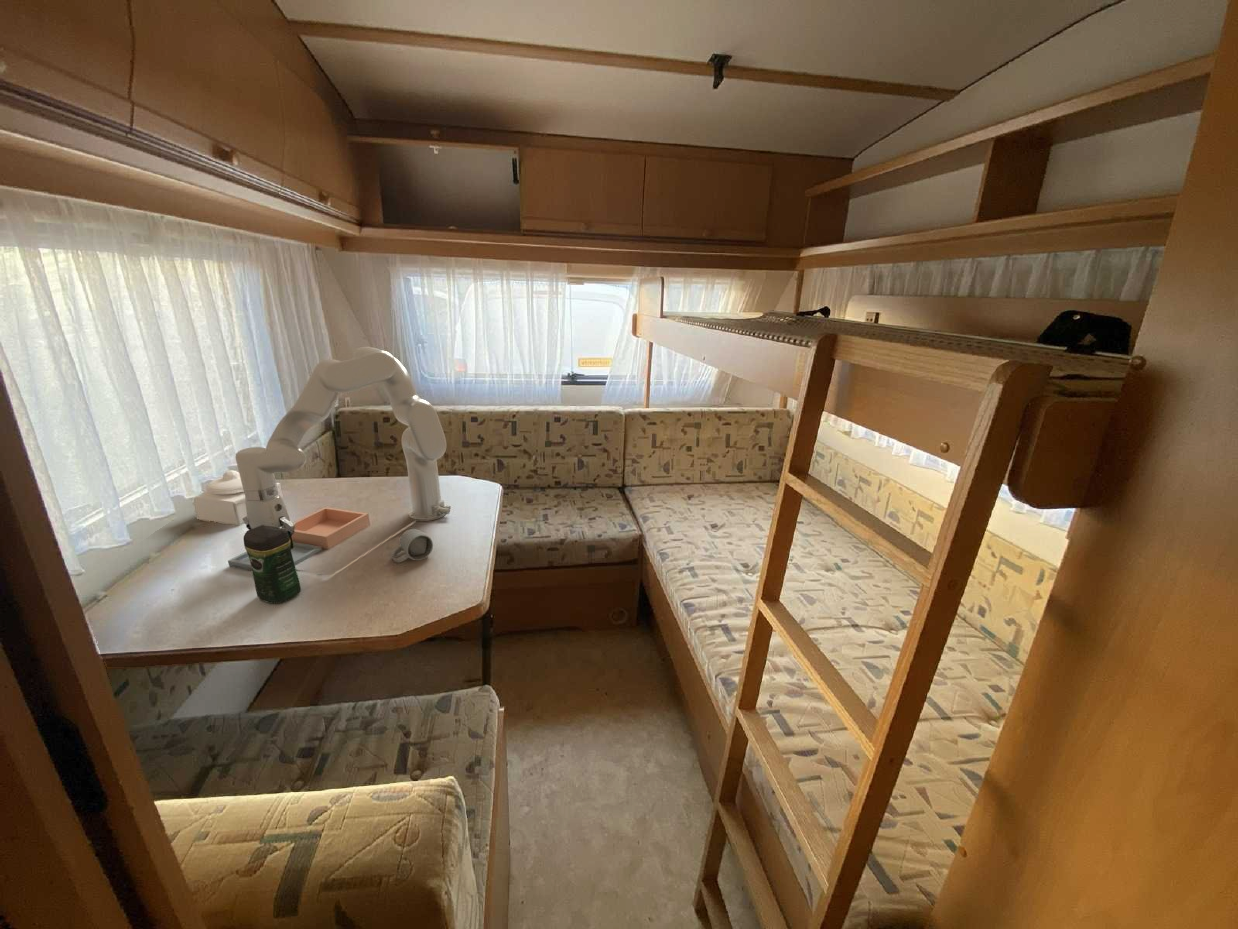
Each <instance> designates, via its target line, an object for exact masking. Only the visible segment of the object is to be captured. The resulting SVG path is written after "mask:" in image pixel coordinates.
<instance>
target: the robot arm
mask: <svg viewBox="0 0 1238 929" xmlns="http://www.w3.org/2000/svg"><path fill="white" fill-rule="evenodd" d="M379 383H380V384H381V385H382V387H383V390H384V391H385V393H386V396H387V398H388V401H389V404H390V408H391V410H392V412H393V415H394V417H395V419H396V420H397V421H398V422H400V423H401V424H403V425H405V426H407V428H406V429H405V430H404V431H403V432H402V435H401V440H400V441H401V447H402V448H401V449H402V451H403V454H404V458H405V461H406V462H405V463H406V467H407V477H408V484H409V492H410V500H411V507H412V508H411V509H410V510H409V511H408V517H410V518H411V519H414V520H413V521H414V522H429V521H434V520H438V519H441V518H442V517H444V516H445V515H449V514H450V512H451V508H452V506H450V505H445V500H442V498H441V497H442V496H441V488H440V476H439V470H438V469H439V468H438V461H437V460H439V459H442V457H443V456H444V455H445V454H446V450H447V446H448V445H447V438H446V434H445V432H444V429H443V427H442V424H441V420H440V418H439V416H438V413H437V410H436V409H435V407H434V406H433V405H432V403H430V402H429V401H427V400H425V399H423V398H421V397H420V396H419V394H418V393H417V390H416V387H415V385H414V383H413V380H412V377H411V375H410V374H409V372H408V370H407V368H406V367H405V366H404V365H403V364H402V363H401V362H400V360H398V359H397V358H396V357H394V355H392V354H391V352H389V351H386V350H383V349H379V348H376V347H371V346H362V347H359V348H358V349H356V350H355V351H354V353H353V355H352V358H350V359H347V360H338V359H334V358H333V359H332V358H331V359H329V358H328V359H327V358H326V359H322V360H321V361H319V362H318V363H317V365H316V366H315V367H314V369H313V370H312V372H311V375H310V377H309V378H308V380H307V382H306V384H304V385H305V386H304V388H303V389H302V391H301V392H300V395H299V396H298V398H297V400H296V401H295V403H294V404H293V405H292V406H291V408H290V409H289V410H288V412H286V413H285V415H284V416H283V417H282V418H281V419H280V421H279V422H278V424H277V425H276V427H275V428H274V429H273V430H274V431H273V432H272V433H271V436H270V437H269V439H268V441H267V444H266V447H263V446H262V447H260V446H254V447H248V448H243V449H241V450H238V451H237V452H236V454H235V461H236V465H237V469H238V472H239V474H240V478H241V482H242V486H243V490H244V494H245V502H246V512H247V516H246V517H244V518H243V521H244V523H245V524H244V525H245V526H246V528H247V529H248V530H251V529H253V528H256V527H258V526H261V525H264V526H272V527H277V528H281V529H284V530H287V532H288V535H289V538H290V541H291V544H290V547H291V549H293V548H294V546H293V542H292V537H291V536H293V533H294V529H295V525H294V524H293V523H294V522H292V521H290V516H289V513H288V509H287V506H286V503H285V501H283V500H284V498H283V499H282V497H281V496H280V495H279V493H278V488H277V484H276V483H277V481H276V476H275V474H277V473H280V474H281V473H292V472H296V471H298V470H301V469H302V468H303V467H304V466H305V465H306V462H307V454H306V452H304V450H303V449H302V448H301V447H300V445H301V442H302V440H303V439H304V437H305V435H306V434H307V433H308V432H309V430H311V428H312V427H314V426H316V425H318V424H320V423H322V422H324V421H325V420H326V419H328V417H329V416H330V413H331V412H332V411H333V408H334V406H335V404H336V402H337V401H338V399H339V397H340V395H341V394H345V393H350V392H355V391H357V390H360V389H365V388H367V387H370V386H373V385H376V384H379Z"/></svg>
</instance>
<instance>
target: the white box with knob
mask: <svg viewBox="0 0 1238 929" xmlns="http://www.w3.org/2000/svg"><path fill="white" fill-rule="evenodd" d="M276 484H277V488H278V493H279V495H280V496H281V497H282V499H283V501H284V497H283V491H282V487H281V485H282V484H281V482H276ZM205 488H206V490H205V491H202V492H203V493H202V492H201V493H202V495H201V496H197V497H196V498H195V499H194V502H193V503H192V506H193V505H194V507H195V510H194V512H196V514H195V516H196V515H197V517H196V519H197V518H198V519H199V520H198V519H197V520H198V521H203V522H204V521H205V522H210V521H214V522H213V523H216V522H218V523H217V524H224V525H230V524H231V525H232V526H238V527H241V526H243V525H246V524H245V523H244V521H243V518H244V517H246V516H247V512H246V502H245V494H244V490H243V486H242V482H241V478H240V474H239V471H237V470H232V469H229V470H226V471H225V472H224V473H223V474H222V476H221V477H218V478H216V479H213V480H211V482H209V483H208V484H207V485H206V487H205ZM284 502H285V501H284ZM194 507H193V508H194ZM209 520H210V521H209ZM231 525H230V526H231Z"/></svg>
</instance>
